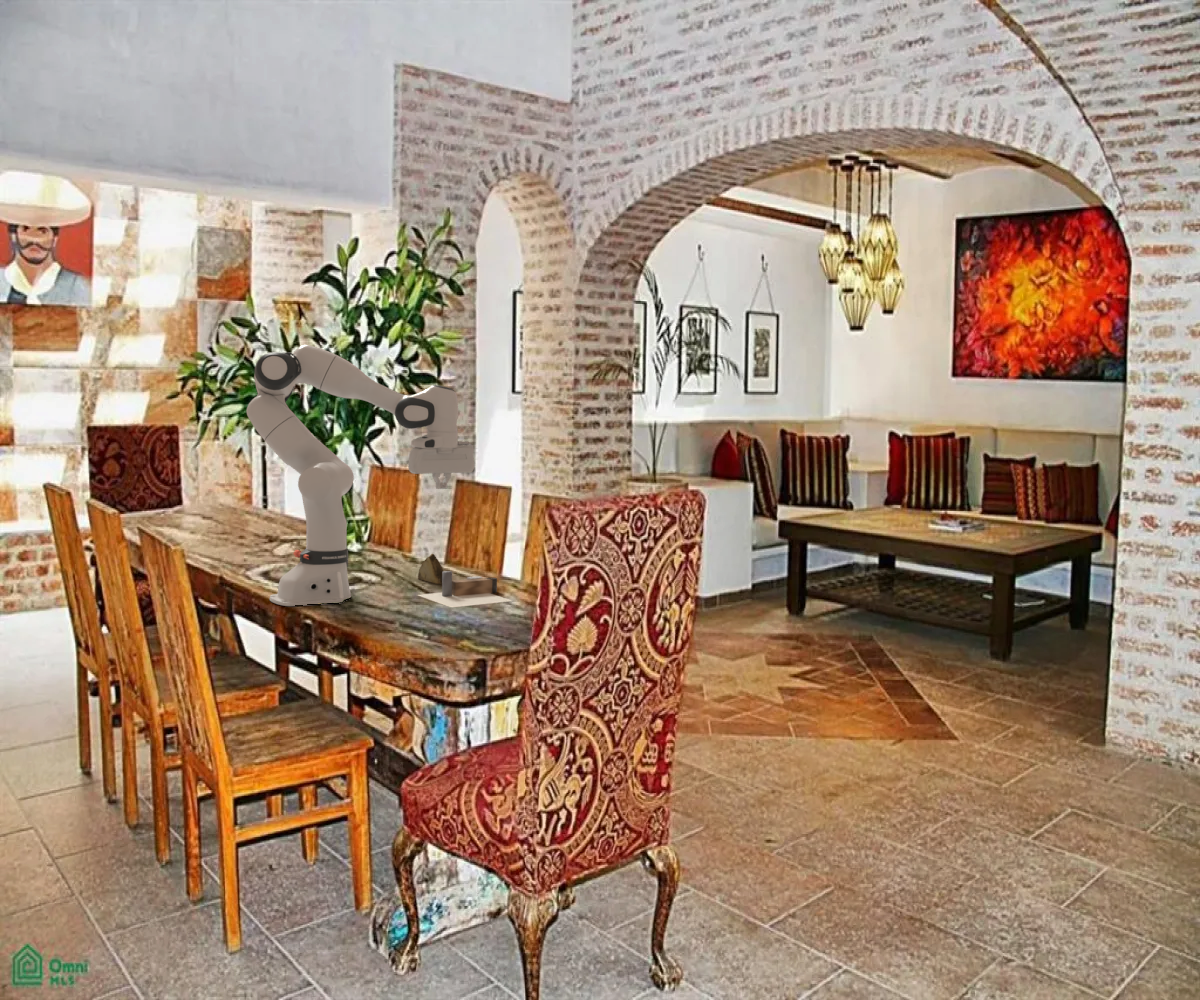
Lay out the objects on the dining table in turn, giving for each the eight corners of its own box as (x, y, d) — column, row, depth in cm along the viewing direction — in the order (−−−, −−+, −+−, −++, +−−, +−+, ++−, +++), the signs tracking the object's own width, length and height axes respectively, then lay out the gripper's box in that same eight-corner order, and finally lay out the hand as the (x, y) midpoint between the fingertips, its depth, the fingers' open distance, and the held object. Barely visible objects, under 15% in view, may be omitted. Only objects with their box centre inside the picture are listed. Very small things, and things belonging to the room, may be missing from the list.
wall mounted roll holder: (451, 610, 308) (451, 582, 307) (416, 597, 324) (417, 571, 323) (512, 603, 320) (513, 576, 319) (476, 591, 336) (477, 566, 335)
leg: (455, 596, 323) (455, 582, 323) (450, 594, 326) (450, 580, 326) (498, 592, 331) (499, 579, 331) (493, 590, 334) (493, 577, 333)
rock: (408, 573, 349) (415, 575, 340) (424, 551, 351) (431, 552, 342) (435, 593, 352) (443, 595, 343) (451, 571, 354) (459, 572, 345)
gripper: (467, 440, 335) (466, 486, 337) (406, 440, 323) (405, 488, 324) (478, 441, 330) (477, 488, 332) (416, 442, 318) (415, 490, 319)
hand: (441, 488), depth 328 cm, fingers closed
